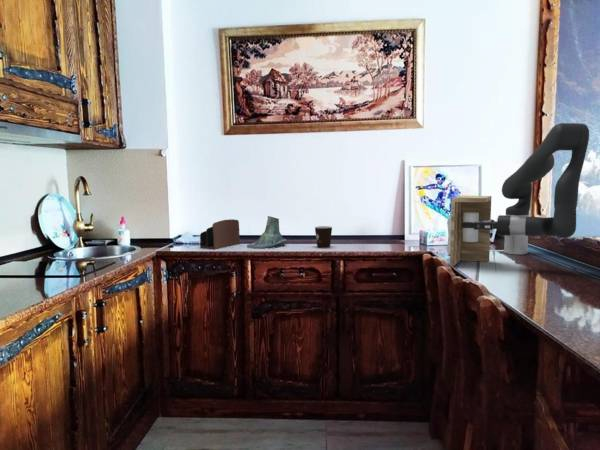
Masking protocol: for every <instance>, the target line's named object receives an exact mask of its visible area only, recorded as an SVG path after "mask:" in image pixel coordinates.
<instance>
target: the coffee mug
mask: <svg viewBox="0 0 600 450" xmlns="http://www.w3.org/2000/svg"><path fill="white" fill-rule="evenodd" d="M314 231H315V238H316V239H315V240H316V245H317V248H318V249H327V248H331V243H332V242H331V241H332V232H333V226H329V225H328V226H325V225H324V226H323V225H321V226H315V227H314Z"/></svg>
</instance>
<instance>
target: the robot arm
mask: <svg viewBox="0 0 600 450" xmlns="http://www.w3.org/2000/svg"><path fill="white" fill-rule="evenodd" d="M589 141H590V130H589V126H588V125H587V124H585V123H581V122H580V123H578V122H577V123H575V122H574V123H573V122H572V123H571V122H562V123H557V124H555V125H553V127H552V128H551V129H550V130H549V131H548V134H546V136H545V138H544V139H543V140H542V142H541V143H540V144H539V145H538V146H537V147H536V149H535V151H533V152H532V154H530V156H529V157H528V158H527V159H526V160H525V161H524V162H523V164H522V165H521V166H520V167H519V168H518V169H517V170H516V171H514V173H512V174H511V175H509V176H508V177H507V178H506V179H505V180H504V181H503V183H502V187H501V195H502V196H503V197H504V198H505V199H509V200H518V201H517V202H515V204H513V205H511V206H507V207H506V209H505V214H504V215H501V214H499V215H498V216H497V221H495V220H494V219H492V218H491V219H489V220H479V222H463V223H462V227H463V228H473V229H475V230H476V229H478V230H488V231H490V232H491V231H493V230H496V233H497V234H496V235H498V236H503V237H504V246H503V247H504V248H503V252H504V253H505V254H509V255H527V254H528V244H529V237H540V236H547V237H548V236H549V237H558V238H559V239H560V238H562V239H567V238H570V237H572V236H573V235H574V234H575V233H576V230H577V206H578V198H579V186H580V180H581V175H582V172H583V171H582V170H583V167H584V163H585V159H586V155H587V149H588V146H589ZM557 151H571V157H570V161H569V163H568V165H567V166H566V168H565V170H564V171H563V172H562V174H561V175H560V176H559V178H558V180H557V181H556V184H555V187H554V195H553V196H554V198H553V200H554V201H553V208H554V209H553V210H554V211H553V216H552V217H548V216H547V217H539V216H530V211H531V202H532V192H533V183H534V182H537V181H539V180H541V179H543V178H545V176H547V175H548V174H549V173H550V172H551V171H552V169H553V168H554V166H555V156H554V154H555V153H556V152H557ZM477 224H479V225H478V227H477Z"/></svg>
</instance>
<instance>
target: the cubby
mask: <svg viewBox="0 0 600 450" xmlns="http://www.w3.org/2000/svg"><path fill="white" fill-rule="evenodd" d="M450 202H451V206H450V207H451V209H450V216H451V244H450V255H449V256H450V257H449V267H450V268H454V267H455V266H456V265H457V264H458V263H459V262H461V261H471V262H480V263H481V262H484V263H490V255H491V254H490V253H491V252H490V249H491V247H490V246H491V231H488V230H478V242H465V241H463V227H462V223H463V213H464V212H477V213H479V220H489V219H492V218H491V217H492V216H491V215H492V195H456V196H454V197H453V196H452V197H451V201H450Z"/></svg>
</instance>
